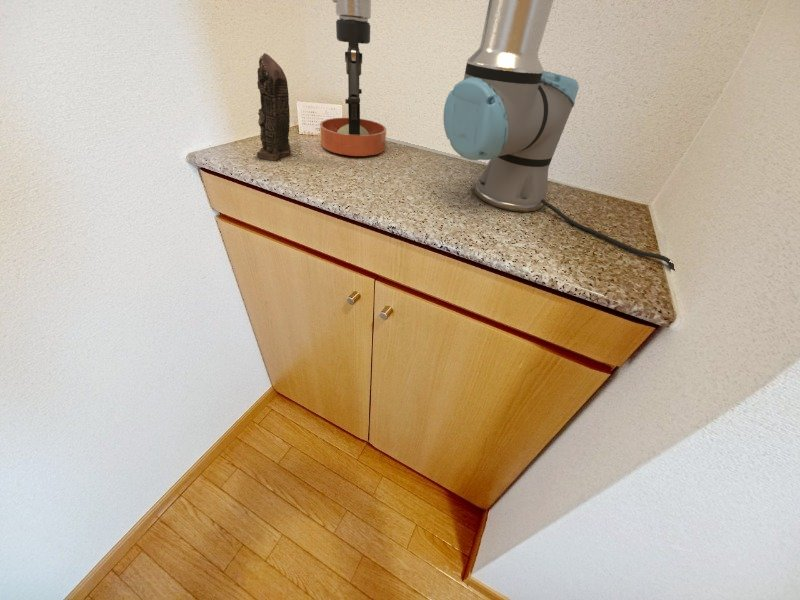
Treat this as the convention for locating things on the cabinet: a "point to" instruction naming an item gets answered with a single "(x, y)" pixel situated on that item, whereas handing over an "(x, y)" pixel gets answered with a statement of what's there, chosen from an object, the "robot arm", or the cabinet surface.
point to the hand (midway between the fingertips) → (354, 127)
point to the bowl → (352, 138)
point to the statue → (273, 110)
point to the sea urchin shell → (346, 130)
